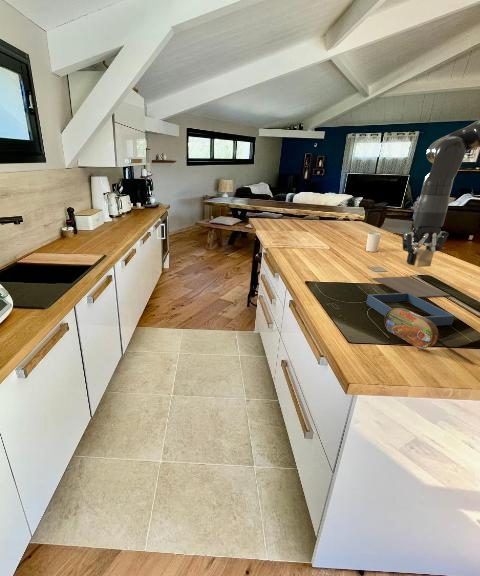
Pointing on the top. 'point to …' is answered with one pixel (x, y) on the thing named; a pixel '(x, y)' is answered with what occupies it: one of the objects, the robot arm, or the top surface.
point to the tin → (411, 327)
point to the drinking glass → (373, 242)
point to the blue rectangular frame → (438, 314)
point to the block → (423, 258)
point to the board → (411, 287)
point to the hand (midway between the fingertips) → (418, 263)
